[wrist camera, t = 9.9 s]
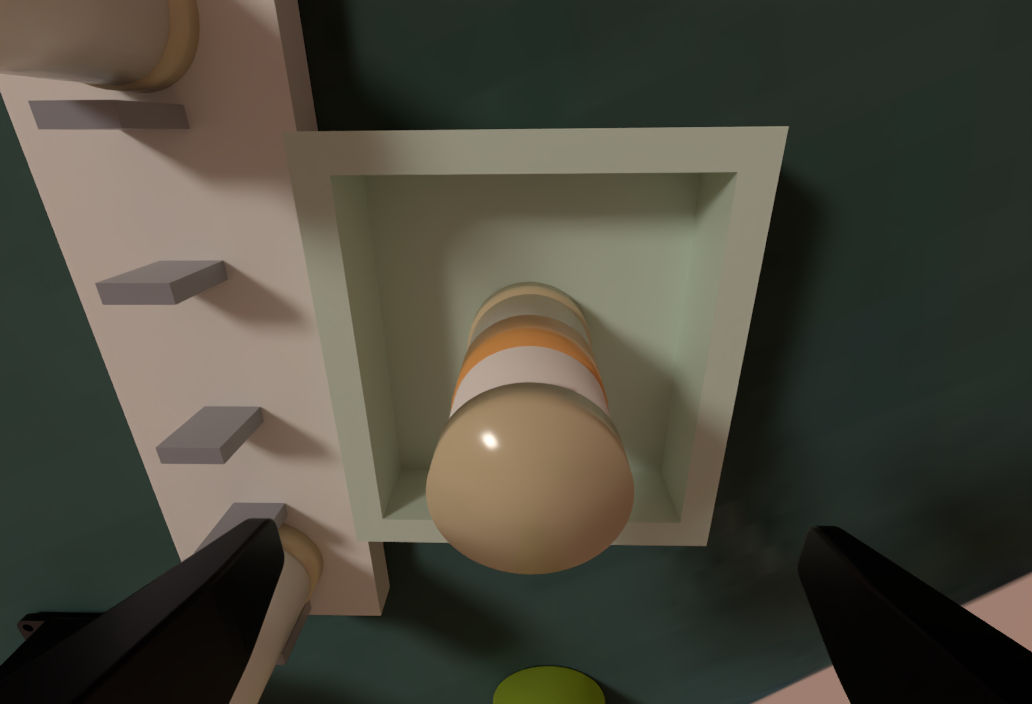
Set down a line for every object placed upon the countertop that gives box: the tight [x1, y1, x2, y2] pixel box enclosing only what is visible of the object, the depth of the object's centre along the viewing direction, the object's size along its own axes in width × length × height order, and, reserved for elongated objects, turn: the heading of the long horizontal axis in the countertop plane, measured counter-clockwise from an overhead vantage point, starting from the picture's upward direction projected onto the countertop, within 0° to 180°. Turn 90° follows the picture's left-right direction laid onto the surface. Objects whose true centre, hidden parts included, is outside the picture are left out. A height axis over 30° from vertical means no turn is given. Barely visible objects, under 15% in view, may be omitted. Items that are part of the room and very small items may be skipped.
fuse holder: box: [0, 0, 390, 665], centre depth 16 cm, size 26×8×4 cm, turn 1°
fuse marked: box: [426, 282, 634, 574], centre depth 13 cm, size 4×4×8 cm
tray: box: [282, 126, 789, 546], centre depth 16 cm, size 13×12×4 cm
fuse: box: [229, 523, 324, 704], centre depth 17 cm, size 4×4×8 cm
